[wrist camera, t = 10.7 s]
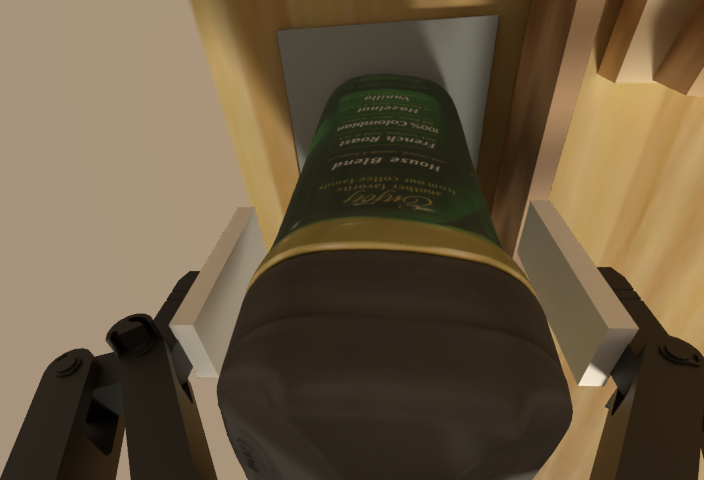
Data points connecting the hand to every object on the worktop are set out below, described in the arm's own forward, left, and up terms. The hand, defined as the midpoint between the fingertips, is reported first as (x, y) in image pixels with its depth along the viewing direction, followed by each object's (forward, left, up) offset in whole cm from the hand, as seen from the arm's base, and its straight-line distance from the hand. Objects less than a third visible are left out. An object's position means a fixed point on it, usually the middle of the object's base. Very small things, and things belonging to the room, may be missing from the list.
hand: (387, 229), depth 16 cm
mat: (0, 0, -8) cm, 8 cm away
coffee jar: (0, 0, -8) cm, 8 cm away
